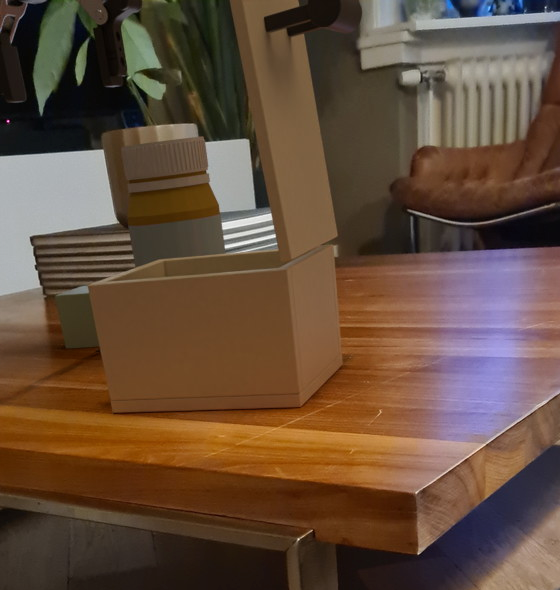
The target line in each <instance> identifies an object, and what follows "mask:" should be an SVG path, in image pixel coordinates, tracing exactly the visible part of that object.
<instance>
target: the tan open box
mask: <svg viewBox="0 0 560 590" xmlns="http://www.w3.org/2000/svg"><path fill="white" fill-rule="evenodd" d="M334 248H335V247H334V244H332V243H331V244H322V245H320V246H318V247H316V248H314V249H312V250H310V251H308V252H306V253H304V254H302V255H300V256H298V257H296V258H294V259H292V260H289V261H284V262H281V261H280V256H279V251H278V248H276V249H275V248H274V249H263V250H252V251H240V252H228V253H226V254H216V255H205V256H194V257H182V258H171V259H159V260H156V261H153V262H151V263H148V264H145V265H142V266H139V267H137V268H135V267H134V268H132V269H128V270H125V271H123V272H119V273H117V274H115V275H112V276H108V277H106V278H103V279H101V280H97V281H95V282H92V283H89V284H88V285H87V286H88V291H89V296H90V301H91V306H92V311H93V316H94V321H95V326H96V331H97V336H98V341H99V346H100V347H99V349H100V351H101V352H100V355H101V361H102V365H103V366H102V367H103V372H104V375H105V376H104V377H105V381H106V385H107V391H108V397H109V400H110V406H111V411H112V413H113V414H117V413H118V414H120V413H121V414H123V413H155V412H157V413H158V412H159V413H160V412H188V411H189V412H190V411H191V412H192V411H217V410H252V409H253V410H254V409H255V410H256V409H285V408H301V407H303V405H305V403H307V401H308V400H309V399H310V398H311V397H313V395H314V394H316V392H317V391H318V390H319V389H320V388H321V387H322V386H323V385H324V384H325V383H326V382H327V381H328V380H329V379H330V378H331V377H332V376H333V375H334V374H335V373H336V372H337V371H338V370H339V369H340V368H341V367H342V366H343V365H344V362H343V350H342V337H341V323H340V311H339V300H338V299H339V297H338V285H337V275H336V259H335V249H334Z"/></svg>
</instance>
